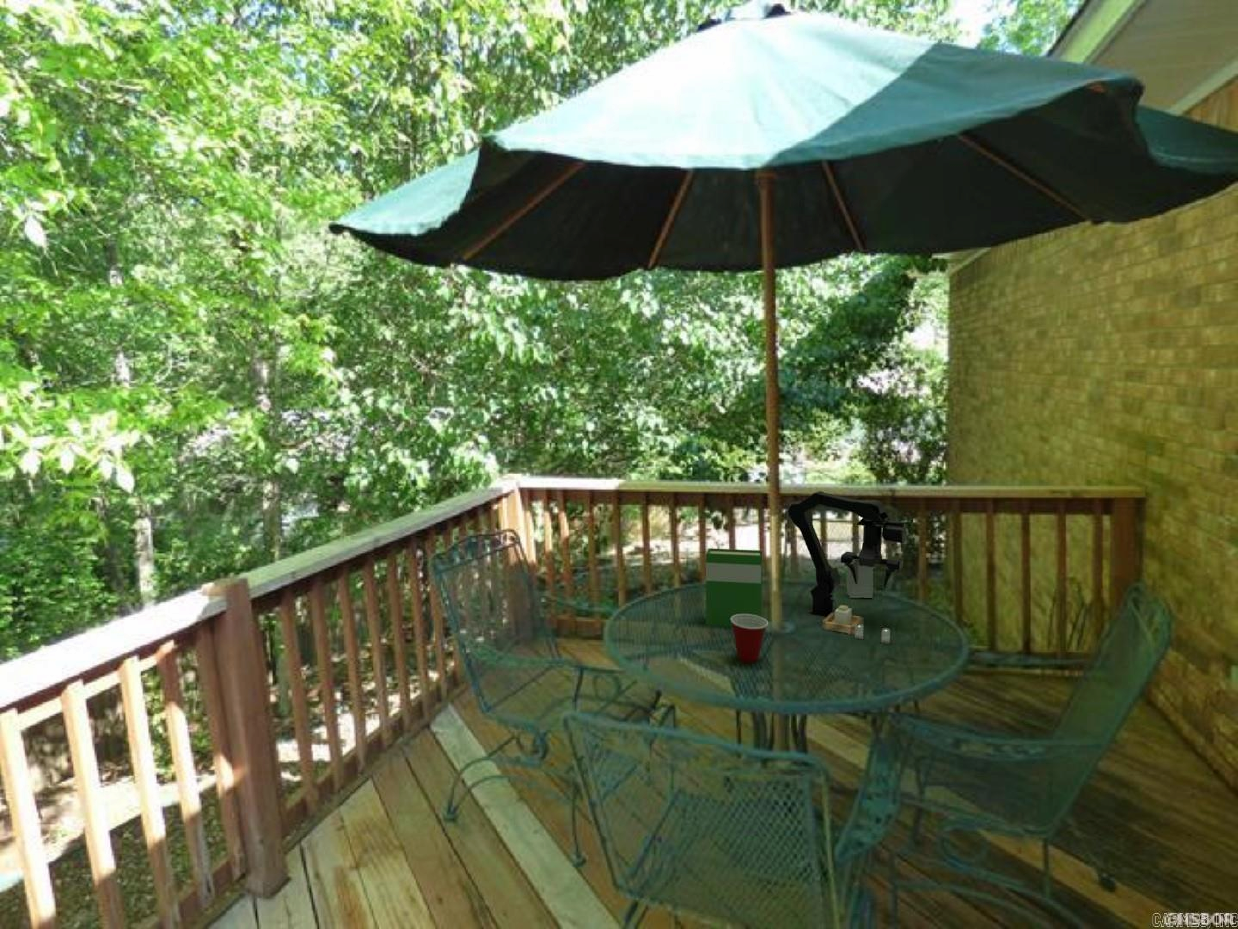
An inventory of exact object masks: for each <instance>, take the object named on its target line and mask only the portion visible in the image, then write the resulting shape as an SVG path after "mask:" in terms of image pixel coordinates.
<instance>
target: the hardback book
mask: <svg viewBox="0 0 1238 929" xmlns="http://www.w3.org/2000/svg"><path fill="white" fill-rule="evenodd" d="M762 577H763V550H758V549H737V548H736V549H735V548H734V549H733V548H731V549H730V548H715V547H714V548H710V547H708V548H707V551H706V553H705V625H706V626H715V627H730V628H731V627H732V628H733V626H732V622H731V619H730V618H731V617H732V616H734V615H736V614H751V615H757V616H760V617H762V599H763V597H762V596H763V595H762V594H763V593H762V591H763V590H762V589H763V587H762V586H763V578H762Z"/></svg>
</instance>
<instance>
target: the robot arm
mask: <svg viewBox="0 0 1238 929" xmlns="http://www.w3.org/2000/svg"><path fill="white" fill-rule="evenodd" d="M820 505H822V506H825V507H829V508H834V509H838V510H841V511H845V512H846V511H847V512H850V513H853V514H855V515H857V516H858V517H860V518H861V519H860V520H859V521H858V522H857V523H856V525H857V526H863V530H862V531H863V532H862V533H863V534H862V544H861V549H860V552H855V551H845V552H844V553H842V554H841V556H840V563H842V564H844V566H846V567H847V566H848V567H849V568H850V570H851V572H852V575H853V578H854V581H855V584H857V583H858V562H859V565H860V566H868V567H873V568H874V567H875V564H876V565H883V566H886V568H885V575H884V576H885V577H884V583H883V586H884V587H883V589H887V587H888V584H889V582H890V580H891V578H892V576H893V573H895V572H897V571H900V570H901V569H902V568H903V567H904V560H903V558H901V557H896V556H890V557H889V558H883V556H882V545H883V542H882V539H883V540H884V541H885V542H889V543H897V544H905V543H906V541H907V538H908V530H907V526H906V522H905V521H893V520H892V519H891V518H890V516H889V515H888V513H887V512H886V510H885V505H884V504H883V503H882V502H881V501H880V500H878V499H876V500H875V499H854V498H850V497H845V496H841V495H836V494H831V493H827V492H824V491H822V490H820V491H819V490H818V491H816V492H814V493H812V495H809V497H807V498H805V499H804V500H802V501H797V502H795V503H792V504H791V505H790V506H789V508H788V510H787V515H788V516H789V518H790V519H791V522H792V523H793V525H795V526H796V527H797V528H798V530H799V531H800V533H801V536H802V539H803V541H804V544H805V546H806V548H807V551H808V552H809V555H810V556H809V557H810V558H811V561H812V562H813V566H814V568H815V580H816V585H815V587H813V588H812V589H811V590H810V594H811V596H812V609H811V610H810V614H814V615H820V616H825V617H828V616H829V615H830V614H831V613H835V610H836V609H835V607H836V606H835V605H836V600H835V599H834V593H835V591H836V590H837V589H839V588H840V586H841V584H842V581H841V579H842V577H841V574H840V573H839V570H838V567H836V566H835V567H834V568H833V567H832V566H831V565H830V563H829V562H828V559H827V557H826V554H825V551H824V549H823V547H822V544H821V542H820V540H819V537H818V534H817V532H816V529H815V527H814V516H813V511H812V510H814V509H816V508H817V507H818V506H820ZM857 553H859V556H857Z"/></svg>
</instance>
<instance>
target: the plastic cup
mask: <svg viewBox="0 0 1238 929" xmlns="http://www.w3.org/2000/svg"><path fill="white" fill-rule="evenodd" d="M730 619H731V622H732V626H733V627H732V631H733V636H734V637H733V638H734V644H735V648H736V654H737V659H738V660H739V661H740V662H742V663H748V664H750V663H756V662H758V660H759V658H760V652H761V649H762V643H763V638H764V635H765V634H764V633H765V631H766V628H767V627H768V624H769V622H768V620H767V619H766V618H764V617H762V616H761V617H760V616H757V615H751V614H736V615H734V616H732V617H731V618H730Z"/></svg>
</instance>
